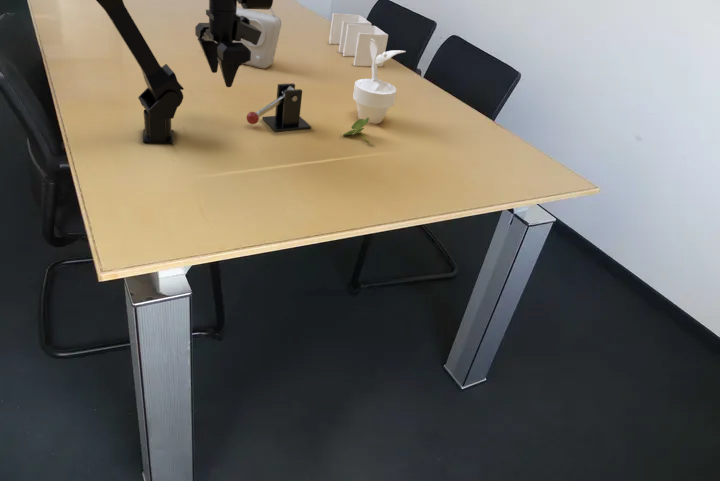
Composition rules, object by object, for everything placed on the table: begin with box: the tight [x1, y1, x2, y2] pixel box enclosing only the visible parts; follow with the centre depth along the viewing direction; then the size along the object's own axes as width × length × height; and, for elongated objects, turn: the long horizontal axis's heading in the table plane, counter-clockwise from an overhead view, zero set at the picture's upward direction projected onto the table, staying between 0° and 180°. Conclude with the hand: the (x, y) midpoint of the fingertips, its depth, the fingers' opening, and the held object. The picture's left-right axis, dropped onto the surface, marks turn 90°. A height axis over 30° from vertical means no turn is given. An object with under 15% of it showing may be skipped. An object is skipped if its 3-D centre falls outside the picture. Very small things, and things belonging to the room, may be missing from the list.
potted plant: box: [352, 36, 407, 125], centre depth 151 cm, size 13×12×25 cm
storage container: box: [328, 12, 389, 67], centre depth 205 cm, size 25×11×11 cm, turn 24°
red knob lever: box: [245, 86, 294, 125], centre depth 139 cm, size 14×3×3 cm
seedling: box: [343, 118, 370, 144], centre depth 144 cm, size 7×8×7 cm
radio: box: [233, 6, 282, 69], centre depth 174 cm, size 22×8×25 cm, turn 76°
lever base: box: [261, 82, 312, 133], centre depth 142 cm, size 10×8×10 cm
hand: (221, 79), depth 129 cm, fingers open, 9 cm apart
